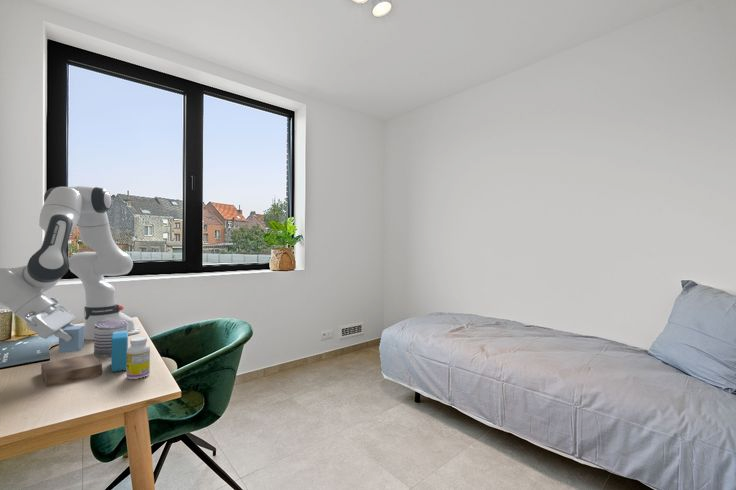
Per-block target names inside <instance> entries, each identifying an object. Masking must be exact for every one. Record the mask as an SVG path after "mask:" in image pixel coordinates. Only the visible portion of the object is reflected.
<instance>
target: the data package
mask: <svg viewBox="0 0 736 490" xmlns="http://www.w3.org/2000/svg"><path fill="white" fill-rule="evenodd" d="M128 348H129V335H128V330H125V331H116V332H113V336H112V356H111V358H110V359H111V360H110V361H111V363H110V364H111V367H110V368H111V369H110V370H111V372H112V373H116V371H117V372H121V371H122V370H123V371H126V370H127V368H126V367H127V349H128Z"/></svg>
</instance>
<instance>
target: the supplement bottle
mask: <svg viewBox="0 0 736 490" xmlns="http://www.w3.org/2000/svg"><path fill="white" fill-rule="evenodd" d="M147 341H148V338H147V337H146V336H138V337H132V338H131V339H130V346H128V349H127V367H126V368H127V370H125V371H126V373H125V374H126V378H127V379H128V380H132V379H135V380H138V379H137V378H141V379H143V378H142V377H144V376H146V375H148V374H149V375H150V373H151V372H150V371H151V366H150V365H151V360H150V359H151V347H150V345H149V344H147ZM149 375H148V376H149ZM146 377H147V376H146ZM144 378H145V377H144Z"/></svg>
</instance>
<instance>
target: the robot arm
mask: <svg viewBox="0 0 736 490" xmlns="http://www.w3.org/2000/svg"><path fill="white" fill-rule="evenodd" d="M43 202H44V203H43V206H42V208H41V210H40V214H39V220H38V222H39V227H40V229H42V231H44V232H45V234H44V238H43V241H42V244H41V247H40V248H39V249H38V250H37V251H36V252H35V253H33V255H31V257H29V259H28V262H27V264H26V265H22V266H19V267H18V266H17V267H9V268H5V267H1V268H0V305H1V306H4V307H6V308H9V310H10V311H11V312H12V314H14V315H15V316H17V318H19V319H20V320H22V321H24V322H25V323H26V326H27V327H28V329H30V330H31V331H32V332H34V334H36V335H37V336H39V337H40V338H42V339H45V340H47V339H48V338H50V337H51V336H54V337H57V338H58V339H59V338H62V339H64V340H65V341H67V342H68V341H70V340H71V339H72V338H73V336H72V335H71V334H67V333H66V332H64V331H63V330H62V328H64V327H66V326H75V325H74V323H72V322H73V321H75V320H76V316H75V315H74V314H73V312H71V311H70V310H69V309H68V308H66V306H64V305H63V304H60V302H61V301H59V299H58V298H55V297H49V296H46V295H45V294H44V292H46V291H48V290H50V289H52V288H54V287H55V286H56V285H57V284H58V282H59V281H60V280H61V279H62V278H63V276H65V275H66V274H67V273H68V271H69V270H70V272H71V273H73V274H74V275H75V276H76V277H78V279H79V280H80V281H81V284H82V285H83V287H84V292H85V295H84V296H85V306H84V309H83V318H84V324H83V326H84V340H94V327H95V325H93V324H95V323H97V322H99V321H106V320H124V321H127V322H129V324H128V336H130V335H136V334H139V333H140V332H141V329H140V328H139V327H138V326H136V325H135V322H134V319H133V318H132V317H131V316H129V315H127V314H125V313H123V312H122V311H123V310H124V308H125V307H124V306H123V305H120V304H117V303H116V302H117V301H116V296H117V294H116V293H117V292H116V288H115V286H114V285H113V284H111V283H109V282H108V281H107V280H106V279H105V278H104V277H106V276H107V277H111V276H113V277H115V276H116V277H117V276H123V275H128V274H129V273H130V272H131V271H132V269H133V266H134V262H133V258H132V257H131V255H129V254H128V253H126V252H125V251H124V250H122V249H121V248H120V247H119V246H118V245H117V243H116V242H115V240H114V238H113V235H112V230H111V226H110V221H109V217H108V213H107V212H108V211H109V210H110V209H111V207H112V202H113V201H112V196H111V194H110V191H108V190H107V189H106V188H103V187H97V186H95V187H92V186H82V185H81V186H56V187H51V188H49V189H48V190H47V191H45V193H44V196H43ZM76 228H78V233H79V237H80V241H81V242H82V244H83V245H85V246H86V247H88V248H90V249H92V250H93V251H81V252H76V253H73V254H72V255H71V256H70V257H68V254H67V248H68V243H69V241H70V236H71V234H72V233H73V232H74V231H75V229H76Z"/></svg>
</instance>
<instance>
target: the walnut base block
mask: <svg viewBox="0 0 736 490" xmlns="http://www.w3.org/2000/svg"><path fill="white" fill-rule="evenodd" d="M40 369H41V370H40V371H41V372H40V375H41V377H42V379H43V382H44V384H45V385H46V387H47V388H48V387H51V386H52V387H53V386H55V385H60V384H64V383H69V382H74V381H78V380H83V379H88V378H91V377H92V378H93V377H97V376H101V375H103V363H102V362H101V361H100V360H99V359H98V358H97V357H96V355H94V353H91V354H86V355H81V356H75V357H69V358H65V359H59V360H53V361H48V362H44V363H41V368H40Z"/></svg>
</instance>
